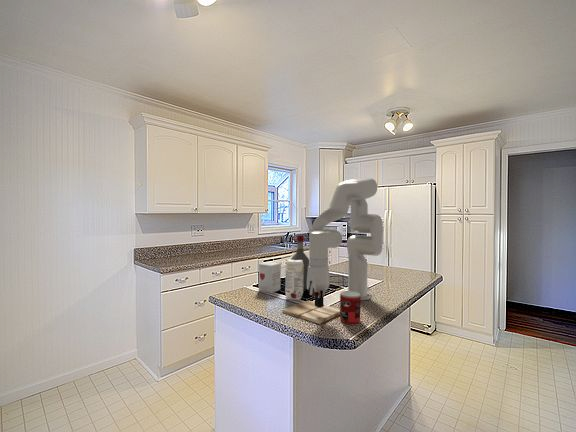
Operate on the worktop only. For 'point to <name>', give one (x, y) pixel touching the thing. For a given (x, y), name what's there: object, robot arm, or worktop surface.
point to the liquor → (302, 258)
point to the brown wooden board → (300, 308)
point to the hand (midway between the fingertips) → (319, 306)
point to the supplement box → (269, 277)
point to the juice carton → (294, 279)
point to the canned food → (350, 307)
